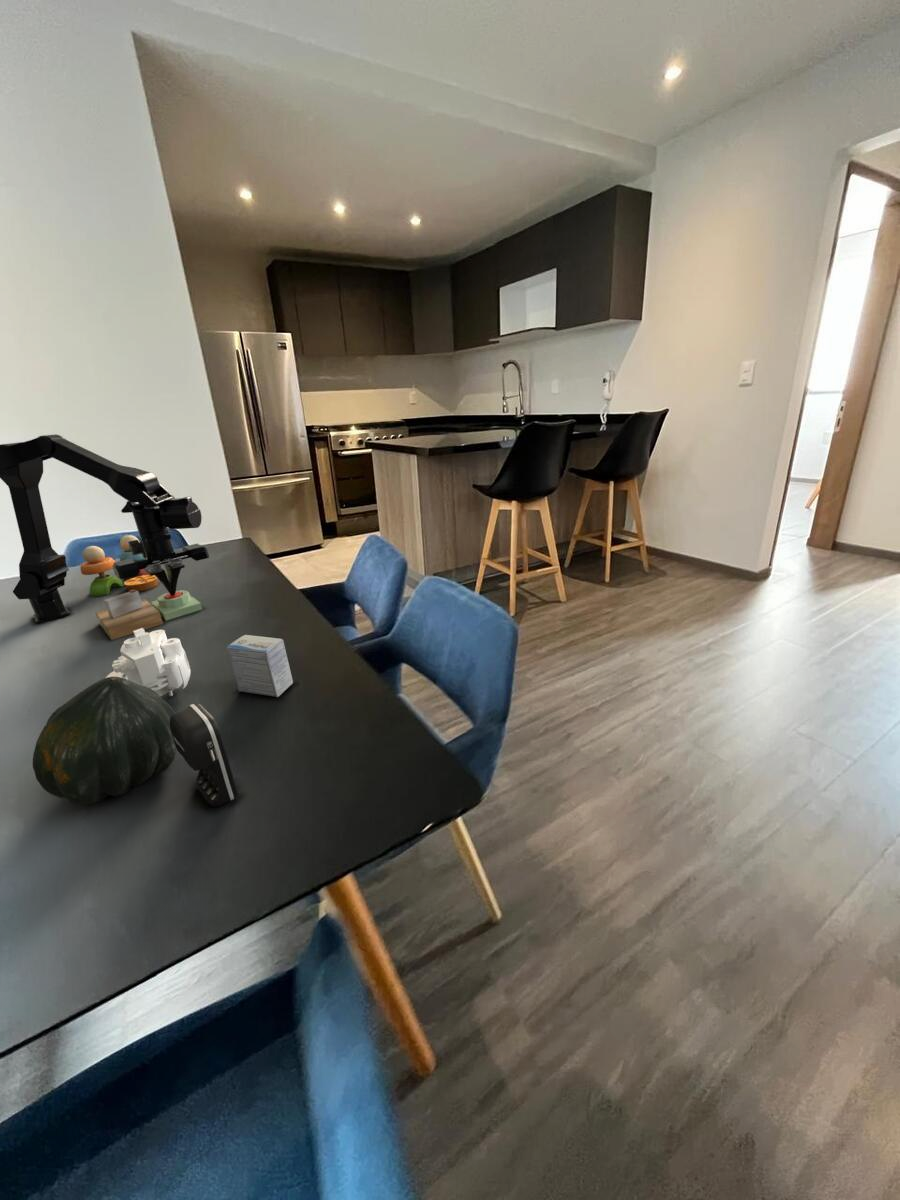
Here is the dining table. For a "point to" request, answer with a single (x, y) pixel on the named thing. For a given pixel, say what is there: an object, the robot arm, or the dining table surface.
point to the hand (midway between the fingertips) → (172, 594)
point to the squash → (104, 742)
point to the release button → (173, 595)
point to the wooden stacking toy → (100, 564)
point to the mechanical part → (153, 662)
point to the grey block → (123, 603)
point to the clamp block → (129, 621)
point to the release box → (176, 605)
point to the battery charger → (204, 753)
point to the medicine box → (260, 665)
